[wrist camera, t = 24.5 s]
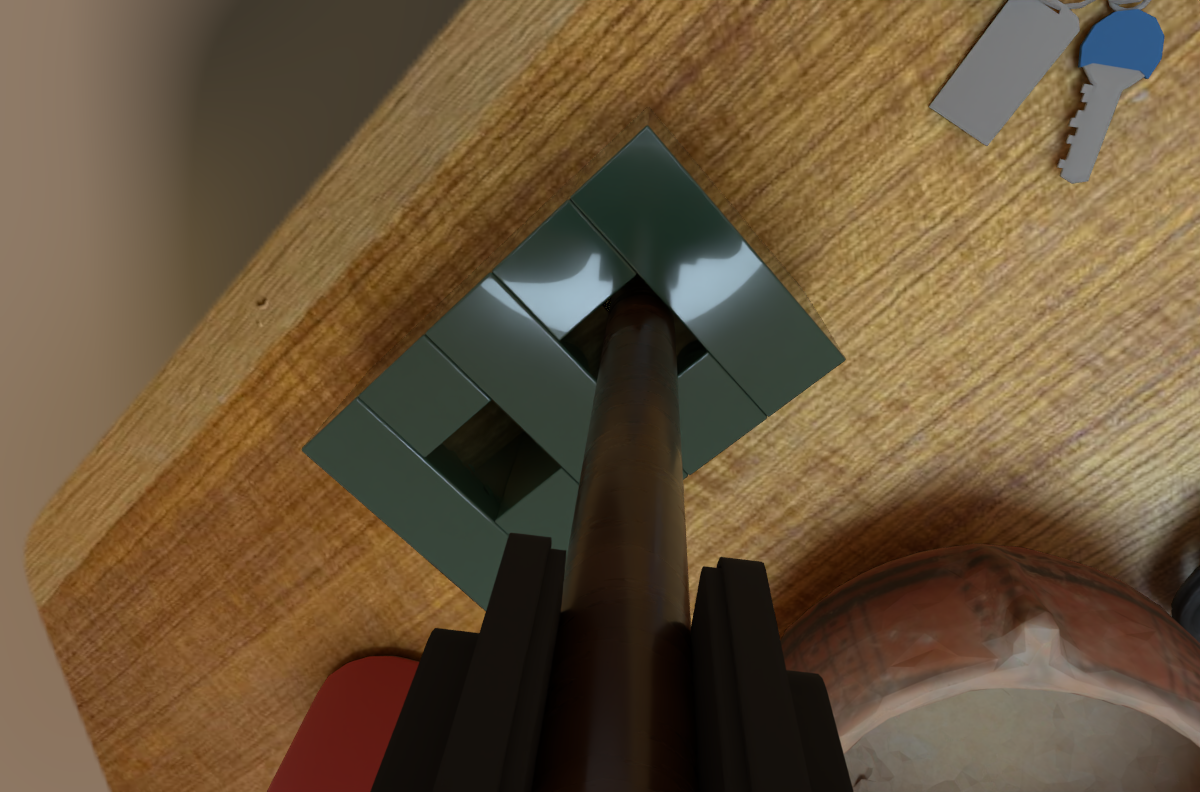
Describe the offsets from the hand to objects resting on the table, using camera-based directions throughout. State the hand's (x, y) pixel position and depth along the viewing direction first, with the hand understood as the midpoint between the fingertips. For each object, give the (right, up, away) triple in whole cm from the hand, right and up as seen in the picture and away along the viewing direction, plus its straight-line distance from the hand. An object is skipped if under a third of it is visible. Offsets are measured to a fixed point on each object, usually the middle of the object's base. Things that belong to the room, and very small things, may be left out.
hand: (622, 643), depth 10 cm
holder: (-1, +5, +16) cm, 17 cm away
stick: (+1, +6, +13) cm, 15 cm away
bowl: (+13, -7, +21) cm, 26 cm away
